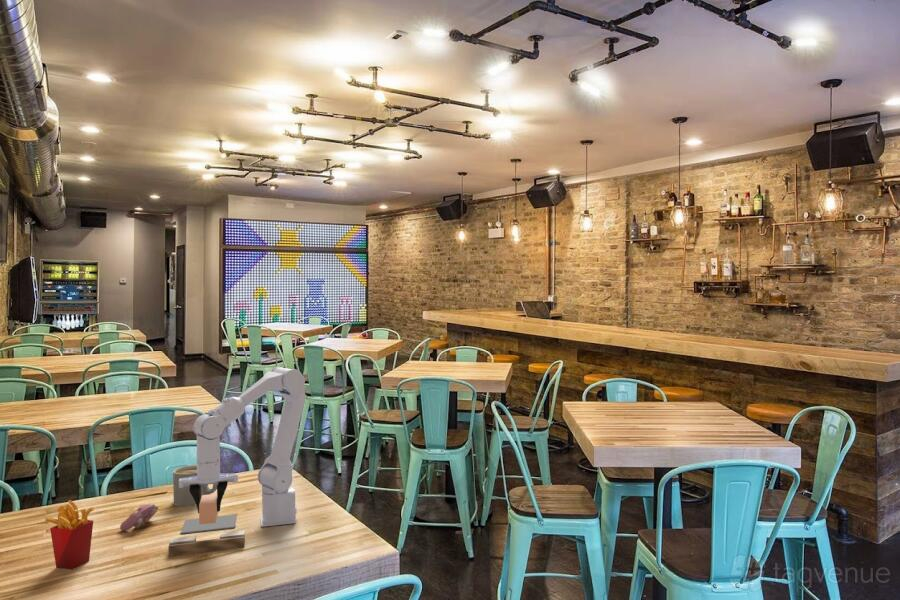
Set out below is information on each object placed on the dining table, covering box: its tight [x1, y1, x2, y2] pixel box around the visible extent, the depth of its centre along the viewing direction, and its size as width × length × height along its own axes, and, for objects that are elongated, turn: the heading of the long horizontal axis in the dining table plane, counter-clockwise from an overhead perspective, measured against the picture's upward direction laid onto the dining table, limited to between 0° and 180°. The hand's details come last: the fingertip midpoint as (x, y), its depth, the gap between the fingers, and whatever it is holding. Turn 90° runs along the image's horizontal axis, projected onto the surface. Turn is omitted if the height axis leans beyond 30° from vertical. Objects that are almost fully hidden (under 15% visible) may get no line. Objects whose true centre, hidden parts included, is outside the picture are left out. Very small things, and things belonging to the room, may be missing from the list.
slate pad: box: [180, 513, 238, 535], centre depth 173 cm, size 14×10×1 cm
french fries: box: [44, 499, 95, 571], centre depth 147 cm, size 9×8×15 cm
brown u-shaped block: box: [168, 529, 246, 557], centre depth 157 cm, size 18×4×3 cm, turn 107°
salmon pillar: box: [198, 493, 219, 525], centre depth 160 cm, size 4×8×5 cm, turn 17°
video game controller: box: [119, 502, 159, 532], centre depth 172 cm, size 10×5×7 cm, turn 169°
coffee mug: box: [172, 464, 218, 507], centre depth 192 cm, size 13×10×10 cm
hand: (209, 511), depth 161 cm, fingers closed on salmon pillar, 4 cm apart
